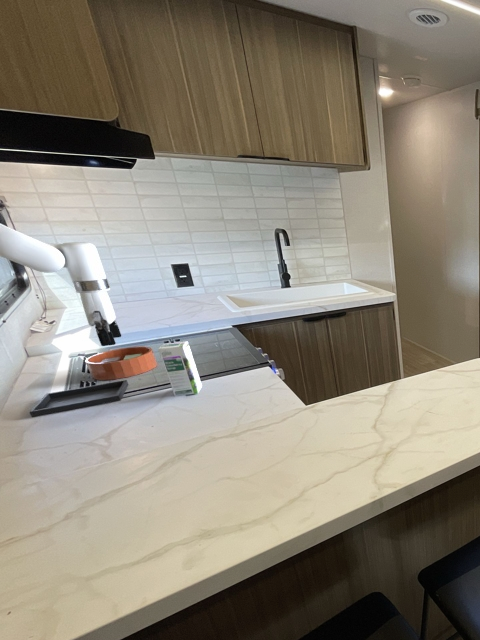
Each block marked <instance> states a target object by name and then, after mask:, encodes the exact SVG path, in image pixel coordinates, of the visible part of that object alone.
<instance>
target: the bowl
mask: <svg viewBox="0 0 480 640" xmlns="http://www.w3.org/2000/svg"><path fill="white" fill-rule="evenodd" d="M135 354H142V355H141V356H138V357H134V358H130V359H126V360H123V359H124V358H125V356H128V355H135ZM115 357H120V358H121V361H115V362H107V363H101V361H102V360H103V359H108V358H115ZM84 362H85V365H86V367H87V369H88V371H89V373H90V376H91V378H92V379H93V380H99V381H111V380H112V381H113V380H120V379H126V378H129V377H130V378H131V377H134V376H138V375H141V374H144V373H147V372H149V371H152V370H154V369H155V368H157V367H158V362H157V358H156V356H155V353H154V350H153V348H152V347H149V346H129V347H121V348H115V349H110V350H106V351H103V352H100V353H96V354H94V355H91V356H89V357H86V359H85V360H84Z"/></svg>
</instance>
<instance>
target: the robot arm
mask: <svg viewBox="0 0 480 640" xmlns="http://www.w3.org/2000/svg"><path fill="white" fill-rule="evenodd" d="M0 257H1V258H4V259H6V260H9V261H12V262H13V263H16V264H19V265H21V266H24V267H26V268H28V269H31V270H34V271H36V272H39V273H44V274H52V273H57V272H59V271H61V270H63V268H66V270H67V271H68V272H67V273H68V275H69V277H70V280H71V283H72V285H73V288H74V291H75V293H77V294H79V297H80V300H81V304H82V307H83V310H84V311H83V312H84V314H85V317H86V320H87V323H88V326H90V327H94V328H95V331H96V335H97V338H98V340H99V343H100V346H101V347H107V346H108V347H109V346H114V345H116V340H115V339H117V338H121V337H122V334H121V331H120V328H119V325H118V323H117V321H116V319H117V317H116V312H115V309H114V306H113V303H112V300H111V298H110V296H109V294H108V291H111V287H110V284H109V281H108V278H107V275H106V273H105V269H104V265H103V264H102V260H101V257H100V254H99V251H98V249H97V247H96V245H95V244H93V243H92V242H88V241H87V242H85V241H75V242H63V243H53V242H52V243H50V242H44V241H41V240H38V239H36V238H33V237H31V236H30V235H27V234H25V233H24V232H23V233H22V232H20V231H18V230H16V229H14V228H11V227H9V226H7V225H5V224H3V223H0Z"/></svg>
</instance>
